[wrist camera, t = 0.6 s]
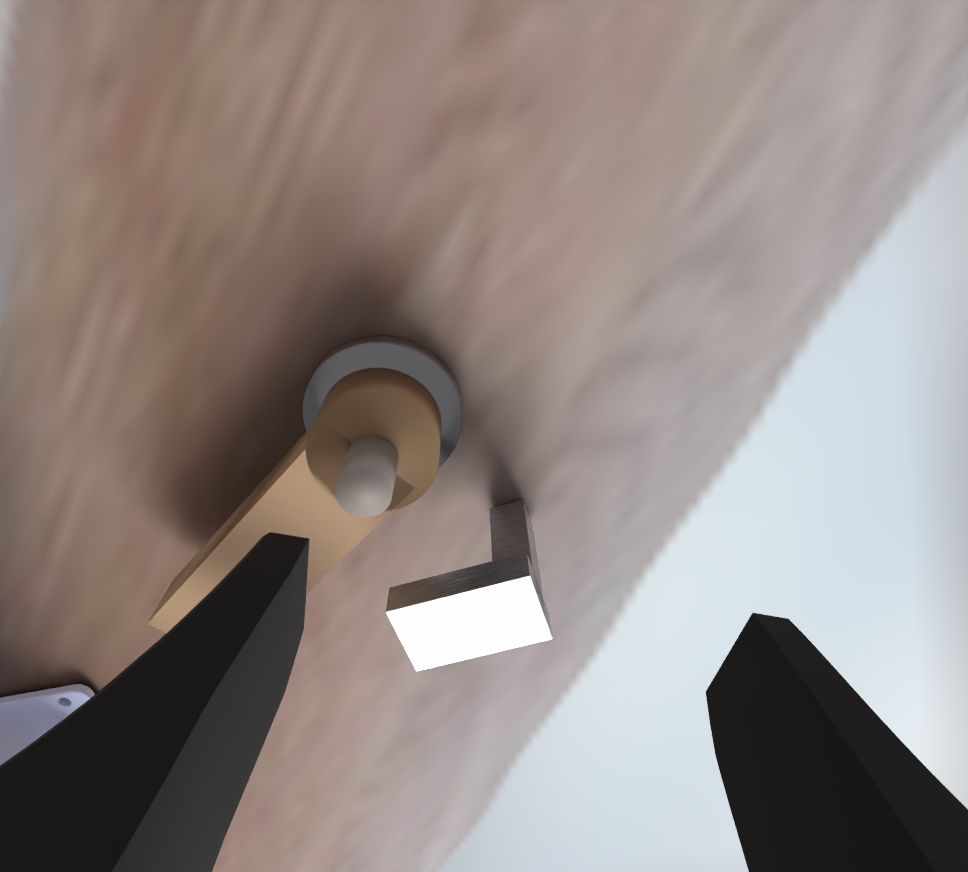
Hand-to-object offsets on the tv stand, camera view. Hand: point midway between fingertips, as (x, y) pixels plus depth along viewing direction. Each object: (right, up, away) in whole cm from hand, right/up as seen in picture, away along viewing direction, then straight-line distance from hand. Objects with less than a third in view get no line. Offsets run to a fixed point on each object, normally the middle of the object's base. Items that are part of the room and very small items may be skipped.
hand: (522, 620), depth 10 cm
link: (-6, +1, +10) cm, 12 cm away
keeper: (-1, 0, +12) cm, 12 cm away
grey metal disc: (-4, +4, +10) cm, 11 cm away
